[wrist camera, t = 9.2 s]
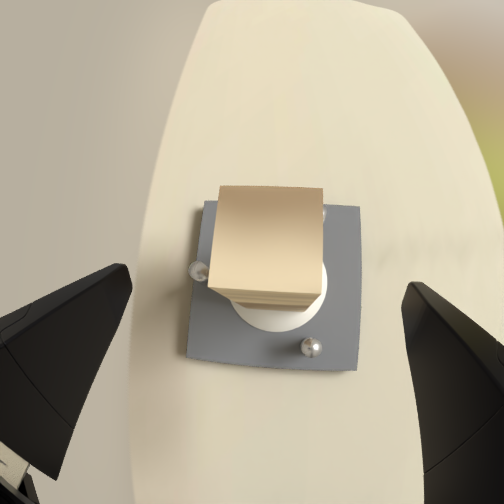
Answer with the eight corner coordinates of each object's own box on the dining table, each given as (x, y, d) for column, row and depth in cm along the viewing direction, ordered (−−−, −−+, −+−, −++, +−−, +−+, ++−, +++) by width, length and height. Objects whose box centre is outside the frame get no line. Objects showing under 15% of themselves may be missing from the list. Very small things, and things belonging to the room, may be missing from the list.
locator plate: (353, 368, 19) (365, 375, 15) (190, 356, 20) (173, 360, 17) (356, 211, 22) (367, 192, 19) (207, 205, 24) (195, 186, 20)
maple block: (304, 311, 19) (321, 293, 10) (246, 308, 20) (207, 286, 10) (307, 254, 20) (322, 188, 11) (250, 252, 21) (220, 185, 11)
